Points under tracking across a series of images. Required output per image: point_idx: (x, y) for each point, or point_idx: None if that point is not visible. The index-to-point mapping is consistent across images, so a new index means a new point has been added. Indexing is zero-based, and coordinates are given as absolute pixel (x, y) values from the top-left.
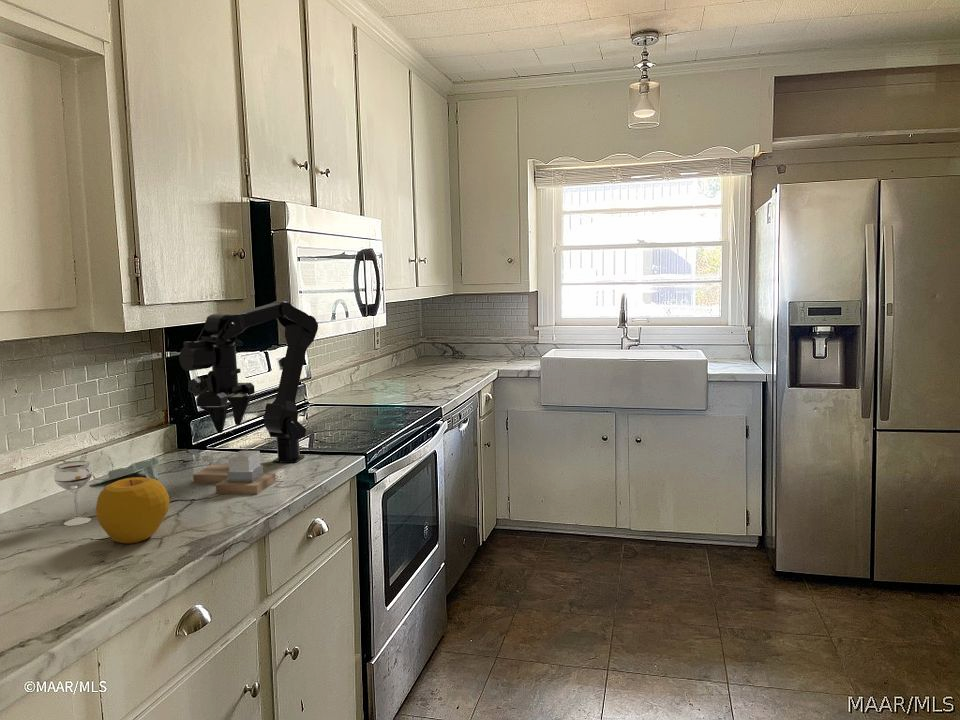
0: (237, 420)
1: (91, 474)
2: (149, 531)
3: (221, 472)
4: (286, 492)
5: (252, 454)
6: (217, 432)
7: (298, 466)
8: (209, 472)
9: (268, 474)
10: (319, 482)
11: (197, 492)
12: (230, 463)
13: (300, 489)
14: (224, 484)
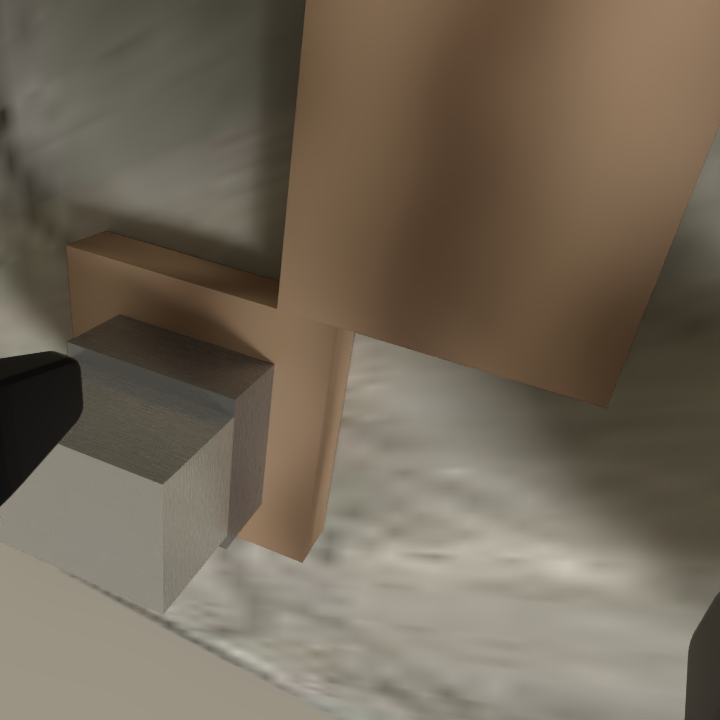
0: (714, 700)
1: None
2: None
3: (365, 202)
4: None
5: (62, 566)
6: (47, 353)
7: (676, 668)
8: (381, 80)
9: (281, 528)
10: (292, 693)
11: (118, 89)
12: None
13: (192, 615)
14: (81, 300)
